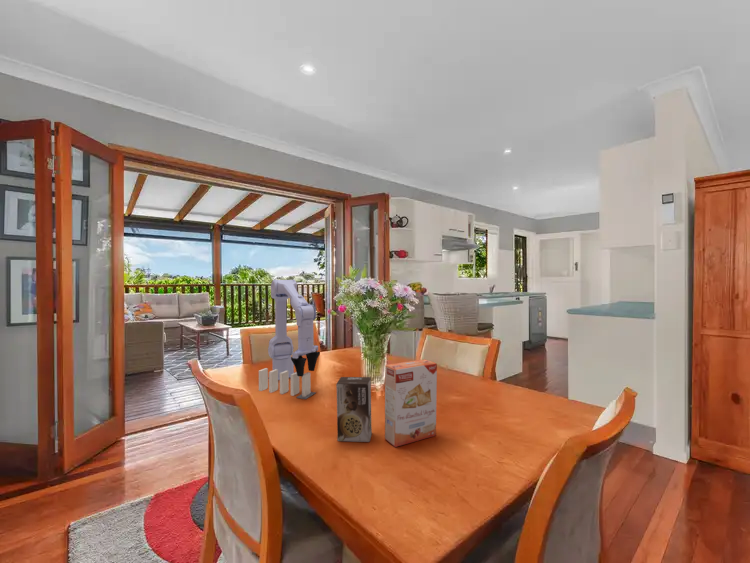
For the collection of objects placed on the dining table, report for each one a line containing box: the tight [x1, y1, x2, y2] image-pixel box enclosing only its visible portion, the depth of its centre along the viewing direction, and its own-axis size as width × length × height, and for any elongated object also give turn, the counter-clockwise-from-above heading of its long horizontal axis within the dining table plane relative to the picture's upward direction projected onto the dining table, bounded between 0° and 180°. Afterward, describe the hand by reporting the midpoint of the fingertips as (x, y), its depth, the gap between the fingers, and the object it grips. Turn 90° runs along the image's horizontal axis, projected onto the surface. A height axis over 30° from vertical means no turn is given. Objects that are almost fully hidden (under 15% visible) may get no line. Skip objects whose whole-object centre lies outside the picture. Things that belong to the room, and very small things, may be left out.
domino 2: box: [268, 369, 279, 394], centre depth 138 cm, size 4×1×8 cm, turn 158°
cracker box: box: [384, 358, 438, 448], centre depth 98 cm, size 14×6×21 cm, turn 120°
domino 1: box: [258, 367, 269, 392], centre depth 140 cm, size 4×1×8 cm, turn 158°
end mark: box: [296, 391, 317, 400], centre depth 133 cm, size 7×4×1 cm, turn 158°
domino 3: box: [279, 371, 290, 395], centre depth 136 cm, size 4×1×8 cm, turn 158°
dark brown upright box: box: [335, 376, 373, 443], centre depth 99 cm, size 9×6×16 cm
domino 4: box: [290, 371, 300, 397], centre depth 135 cm, size 4×1×8 cm, turn 158°
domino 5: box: [301, 371, 312, 397], centre depth 133 cm, size 4×1×8 cm, turn 158°
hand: (306, 373), depth 133 cm, fingers open, 7 cm apart
